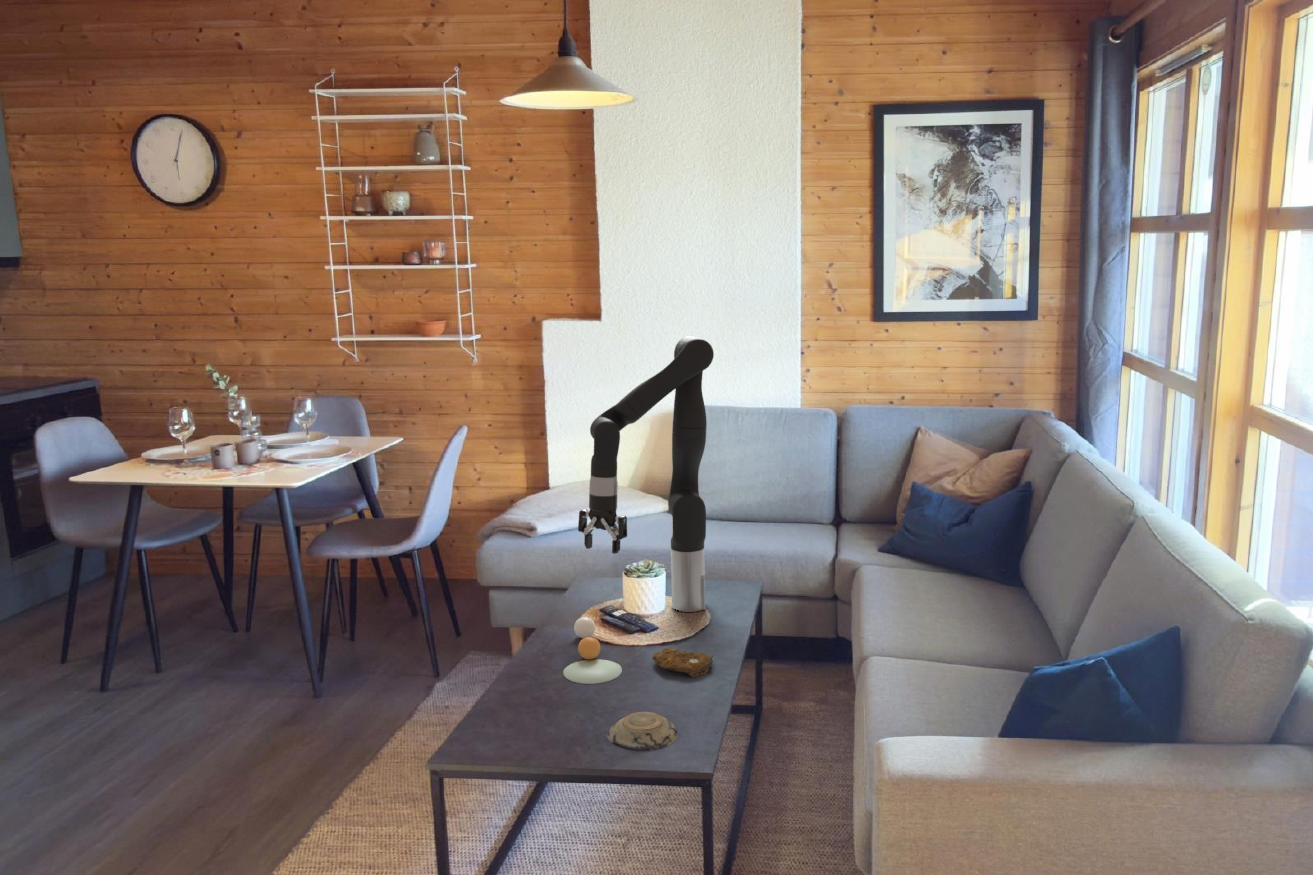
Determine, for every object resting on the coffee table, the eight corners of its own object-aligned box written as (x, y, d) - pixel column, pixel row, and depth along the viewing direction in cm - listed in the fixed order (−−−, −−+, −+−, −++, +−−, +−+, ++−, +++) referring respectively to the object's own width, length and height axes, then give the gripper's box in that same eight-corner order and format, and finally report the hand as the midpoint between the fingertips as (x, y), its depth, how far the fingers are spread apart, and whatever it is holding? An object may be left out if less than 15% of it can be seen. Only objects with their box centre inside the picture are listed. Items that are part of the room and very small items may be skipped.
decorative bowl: (600, 726, 225) (616, 758, 210) (599, 710, 224) (615, 740, 210) (667, 717, 229) (687, 747, 214) (667, 701, 228) (687, 730, 214)
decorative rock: (643, 676, 250) (704, 685, 245) (643, 660, 249) (704, 669, 244) (659, 655, 260) (717, 664, 256) (659, 640, 259) (717, 648, 255)
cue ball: (596, 633, 275) (595, 613, 274) (594, 641, 270) (594, 621, 269) (575, 634, 276) (574, 614, 275) (573, 641, 270) (572, 621, 269)
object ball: (601, 654, 262) (600, 633, 261) (599, 663, 256) (599, 641, 255) (579, 654, 262) (578, 633, 261) (577, 663, 257) (576, 641, 256)
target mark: (623, 659, 258) (623, 658, 258) (620, 683, 244) (620, 682, 244) (566, 660, 258) (566, 659, 258) (560, 684, 245) (560, 683, 245)
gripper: (633, 493, 281) (631, 551, 284) (589, 486, 288) (587, 543, 291) (618, 498, 275) (616, 558, 277) (573, 490, 282) (572, 549, 284)
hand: (601, 550), depth 284 cm, fingers open, 8 cm apart
